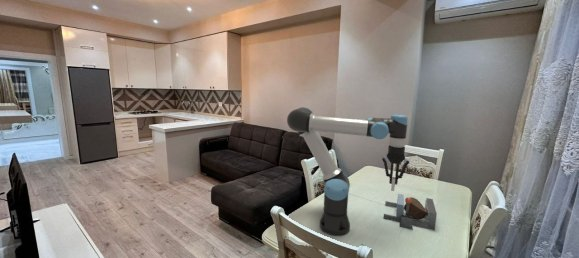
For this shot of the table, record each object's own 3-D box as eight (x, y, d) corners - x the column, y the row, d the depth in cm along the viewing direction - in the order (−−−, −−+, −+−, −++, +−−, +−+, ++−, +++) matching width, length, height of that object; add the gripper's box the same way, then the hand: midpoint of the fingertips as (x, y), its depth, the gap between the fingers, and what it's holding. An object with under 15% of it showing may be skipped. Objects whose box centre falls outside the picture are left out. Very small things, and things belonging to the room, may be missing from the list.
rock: (432, 215, 123) (421, 207, 119) (418, 228, 125) (406, 220, 122) (418, 199, 134) (407, 191, 131) (405, 211, 136) (394, 204, 133)
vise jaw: (402, 221, 125) (404, 205, 124) (396, 219, 126) (397, 204, 125) (402, 209, 138) (404, 194, 136) (396, 207, 139) (397, 193, 137)
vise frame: (435, 235, 113) (437, 218, 112) (382, 222, 124) (384, 207, 122) (430, 213, 133) (432, 199, 132) (385, 204, 143) (386, 190, 142)
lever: (410, 222, 118) (412, 199, 116) (403, 220, 120) (405, 198, 118) (409, 218, 121) (412, 197, 119) (403, 217, 122) (405, 195, 120)
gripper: (410, 145, 118) (406, 189, 122) (383, 142, 123) (379, 184, 128) (411, 148, 111) (406, 195, 115) (382, 145, 117) (378, 190, 121)
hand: (392, 189), depth 121 cm, fingers closed
